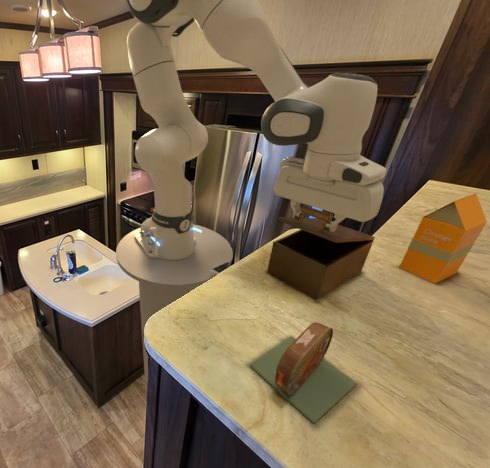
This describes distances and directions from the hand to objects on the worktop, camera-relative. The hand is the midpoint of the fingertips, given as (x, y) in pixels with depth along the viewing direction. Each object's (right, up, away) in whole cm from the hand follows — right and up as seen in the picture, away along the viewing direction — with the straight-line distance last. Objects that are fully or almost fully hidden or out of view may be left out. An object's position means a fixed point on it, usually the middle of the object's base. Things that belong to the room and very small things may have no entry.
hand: (313, 224), depth 65 cm
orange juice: (+34, -12, +8) cm, 37 cm away
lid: (+6, -1, +4) cm, 8 cm away
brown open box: (+7, -12, +11) cm, 18 cm away
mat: (-11, -27, -14) cm, 33 cm away
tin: (-11, -27, -14) cm, 32 cm away
